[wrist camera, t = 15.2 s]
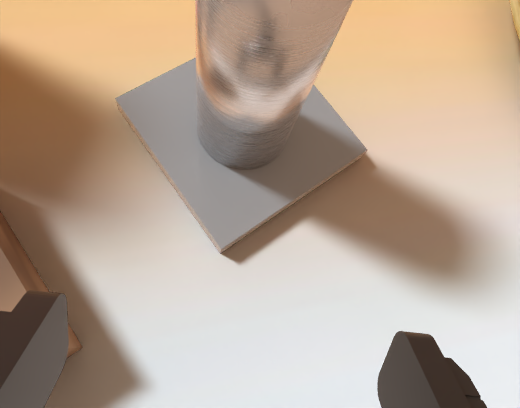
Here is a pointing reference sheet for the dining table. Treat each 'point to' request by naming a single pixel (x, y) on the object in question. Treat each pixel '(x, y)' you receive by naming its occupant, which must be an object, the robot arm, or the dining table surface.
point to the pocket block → (20, 277)
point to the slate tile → (228, 179)
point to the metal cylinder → (258, 72)
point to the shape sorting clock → (516, 14)
